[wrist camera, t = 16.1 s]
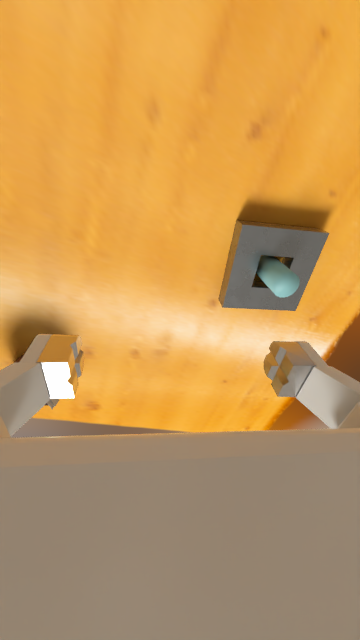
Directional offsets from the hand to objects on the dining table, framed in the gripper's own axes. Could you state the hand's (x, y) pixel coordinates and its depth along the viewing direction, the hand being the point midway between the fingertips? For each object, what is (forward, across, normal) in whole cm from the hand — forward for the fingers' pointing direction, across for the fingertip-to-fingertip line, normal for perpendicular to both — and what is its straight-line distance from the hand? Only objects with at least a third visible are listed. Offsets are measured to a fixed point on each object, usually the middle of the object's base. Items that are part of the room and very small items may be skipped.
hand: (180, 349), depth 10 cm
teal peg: (+31, -19, +7) cm, 37 cm away
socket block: (+31, -19, +7) cm, 37 cm away
